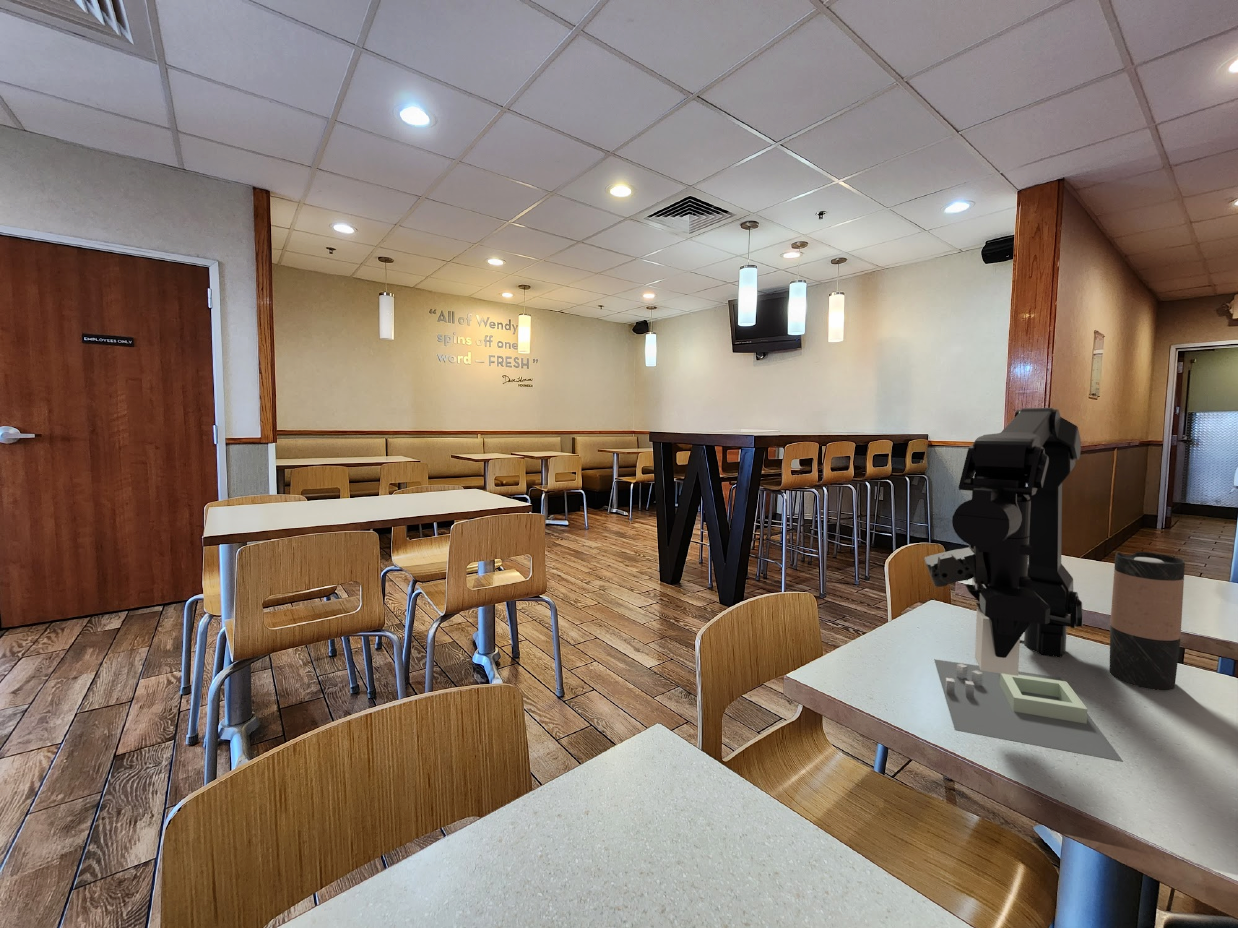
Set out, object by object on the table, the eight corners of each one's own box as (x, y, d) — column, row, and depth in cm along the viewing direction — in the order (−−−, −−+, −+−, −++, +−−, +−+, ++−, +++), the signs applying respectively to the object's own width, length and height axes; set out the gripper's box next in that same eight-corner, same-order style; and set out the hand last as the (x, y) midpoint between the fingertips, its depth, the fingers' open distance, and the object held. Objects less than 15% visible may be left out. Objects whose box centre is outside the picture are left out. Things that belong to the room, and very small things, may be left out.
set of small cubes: (937, 665, 88) (938, 653, 88) (1005, 675, 84) (1006, 663, 84) (946, 693, 79) (946, 680, 79) (1022, 706, 75) (1023, 692, 75)
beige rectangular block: (975, 657, 74) (976, 608, 73) (1010, 662, 72) (1012, 611, 71) (980, 670, 70) (982, 618, 69) (1018, 675, 68) (1020, 622, 68)
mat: (933, 664, 90) (934, 659, 90) (1060, 683, 83) (1060, 677, 83) (954, 736, 70) (954, 729, 70) (1122, 769, 63) (1123, 761, 63)
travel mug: (1174, 703, 77) (1184, 567, 75) (1103, 684, 83) (1111, 557, 81) (1178, 685, 82) (1187, 557, 80) (1110, 668, 88) (1118, 548, 86)
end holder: (999, 684, 81) (1000, 671, 81) (1065, 694, 78) (1066, 681, 78) (1013, 711, 74) (1013, 697, 74) (1086, 723, 71) (1087, 709, 71)
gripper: (922, 517, 81) (919, 617, 83) (939, 544, 64) (935, 670, 66) (1011, 521, 77) (1007, 627, 78) (1054, 552, 60) (1047, 687, 61)
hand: (996, 650), depth 71 cm, fingers closed on beige rectangular block, 4 cm apart
